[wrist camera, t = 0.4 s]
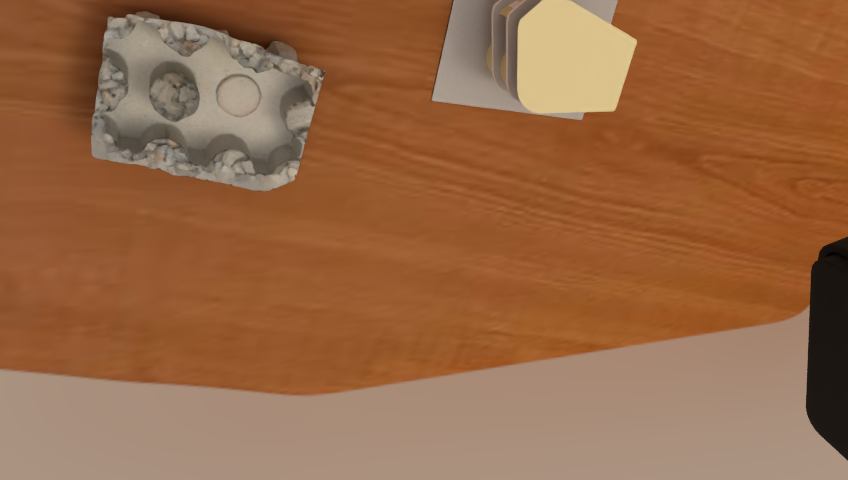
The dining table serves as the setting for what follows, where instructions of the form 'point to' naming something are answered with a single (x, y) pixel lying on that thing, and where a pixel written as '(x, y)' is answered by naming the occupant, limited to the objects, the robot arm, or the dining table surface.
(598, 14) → the stacked layers on plate
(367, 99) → the dining table surface
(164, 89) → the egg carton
